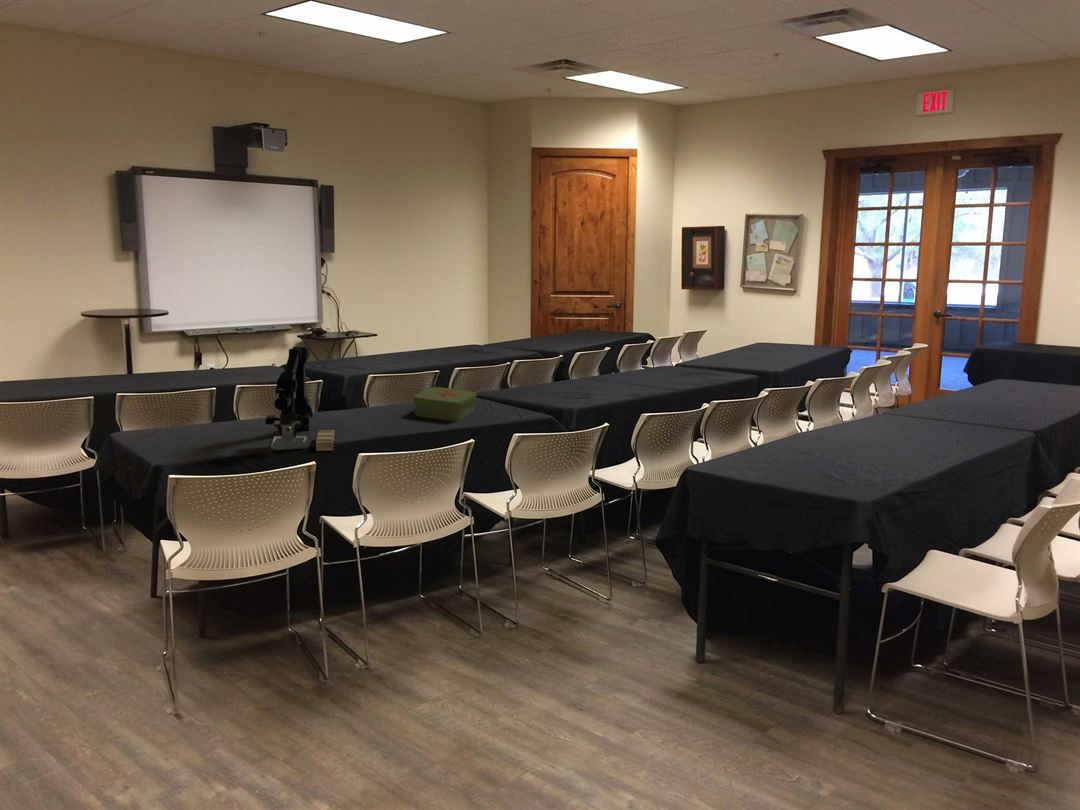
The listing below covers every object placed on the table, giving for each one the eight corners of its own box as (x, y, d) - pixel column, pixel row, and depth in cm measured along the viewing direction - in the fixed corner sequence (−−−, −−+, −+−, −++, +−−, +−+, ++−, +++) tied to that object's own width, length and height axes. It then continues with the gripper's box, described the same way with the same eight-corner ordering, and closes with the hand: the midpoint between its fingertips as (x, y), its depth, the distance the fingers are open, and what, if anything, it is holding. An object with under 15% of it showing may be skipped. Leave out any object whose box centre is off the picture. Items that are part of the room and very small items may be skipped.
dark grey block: (283, 437, 394) (283, 426, 393) (295, 437, 395) (294, 426, 394) (281, 442, 387) (281, 430, 386) (293, 442, 388) (293, 430, 387)
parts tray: (274, 439, 398) (274, 436, 398) (306, 439, 401) (306, 436, 400) (270, 450, 383) (270, 447, 383) (303, 450, 385) (303, 446, 385)
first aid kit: (410, 416, 447) (410, 397, 445) (432, 404, 471) (433, 386, 469) (458, 422, 439) (458, 403, 437) (478, 410, 463) (478, 391, 461)
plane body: (318, 438, 403) (318, 430, 402) (334, 438, 404) (334, 430, 403) (316, 450, 386) (315, 441, 384) (332, 450, 387) (332, 441, 386)
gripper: (263, 409, 378) (264, 444, 382) (307, 409, 381) (308, 443, 385) (266, 402, 388) (267, 436, 392) (309, 402, 392) (310, 436, 396)
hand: (288, 438), depth 391 cm, fingers closed on dark grey block, 5 cm apart
